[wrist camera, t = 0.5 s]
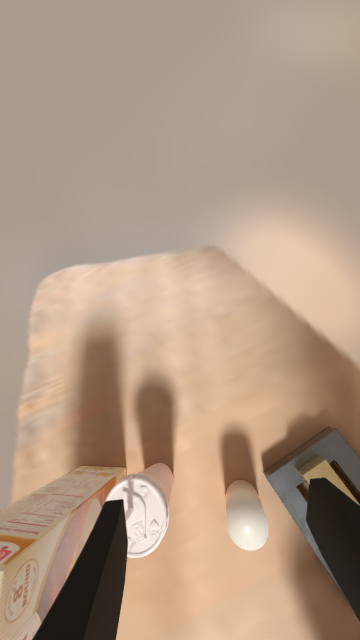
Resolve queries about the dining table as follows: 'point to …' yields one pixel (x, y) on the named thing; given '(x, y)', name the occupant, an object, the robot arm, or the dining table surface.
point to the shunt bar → (323, 474)
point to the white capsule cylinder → (245, 516)
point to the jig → (288, 478)
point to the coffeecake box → (46, 544)
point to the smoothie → (145, 507)
